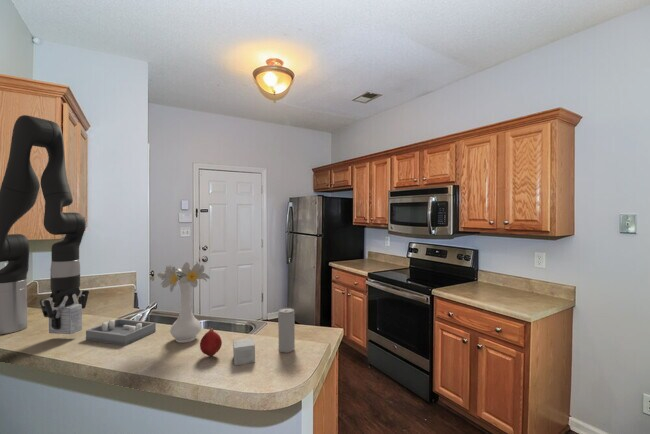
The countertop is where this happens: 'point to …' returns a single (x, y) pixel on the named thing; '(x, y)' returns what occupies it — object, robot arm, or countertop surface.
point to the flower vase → (184, 299)
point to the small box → (244, 351)
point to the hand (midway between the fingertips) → (65, 325)
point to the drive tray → (120, 331)
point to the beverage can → (286, 329)
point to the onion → (210, 343)
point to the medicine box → (69, 320)
